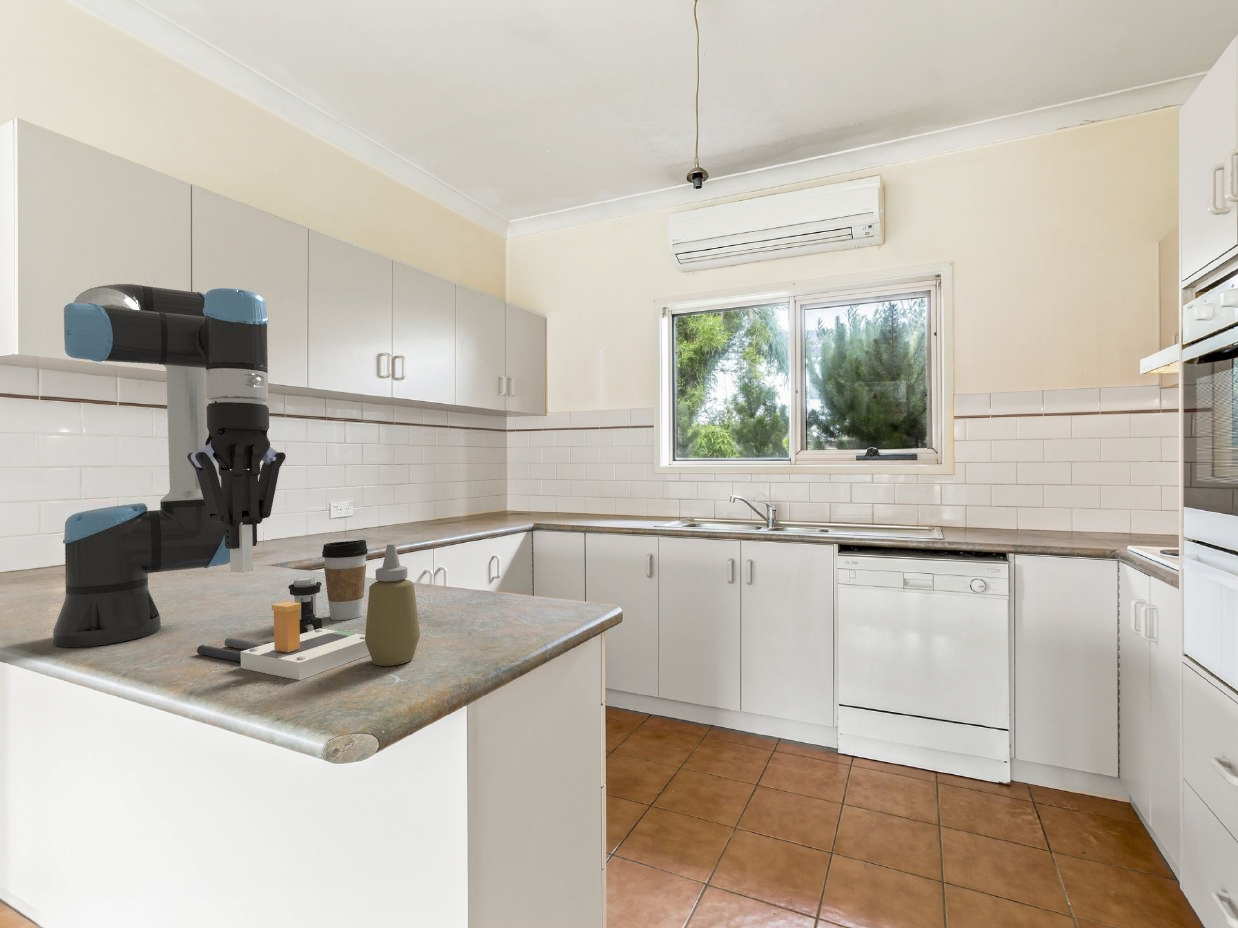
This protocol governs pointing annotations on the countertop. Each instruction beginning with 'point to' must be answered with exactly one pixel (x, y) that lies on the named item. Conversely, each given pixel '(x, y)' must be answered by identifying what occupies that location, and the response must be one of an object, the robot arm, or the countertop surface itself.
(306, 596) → the push button
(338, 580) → the coffee cup
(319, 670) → the panel
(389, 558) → the squeeze bottle
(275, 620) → the lever
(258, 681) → the countertop surface
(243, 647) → the cord
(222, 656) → the cord
